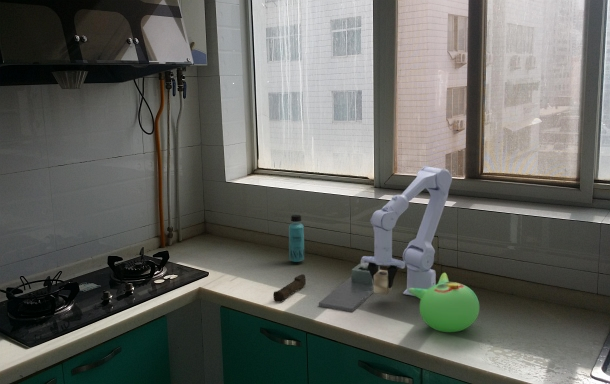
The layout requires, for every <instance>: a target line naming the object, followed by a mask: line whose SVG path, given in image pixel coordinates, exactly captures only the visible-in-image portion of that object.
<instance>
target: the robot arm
mask: <svg viewBox="0 0 610 384" xmlns="http://www.w3.org/2000/svg"><path fill="white" fill-rule="evenodd" d="M452 181H453V177H452V174H451V171H449V169H447V168H440V167H439V168H438V167H432V166H429V165H424V166H423V167H421V169H420V170H419V171H418V172H417V173H416V178H414V180H413V181H412V182H411V183H410V184H409V185H408V187H406V189H405V190H404V191H402V193H401V194H396V195H393V196H392V197H391V199H390V200H389V201H388V202H387V203H386V204H385V205H383V207H382V208H381V209H377V210H375V211H374V212H373V213H372V215H371V218H370V219H369V220H370V221H369V222H370V224H371V225H372V227H373V232H374V236H373V237H374V239H373V241H374V244H373V245H374V246H373V247H374V256H371V255H370V256H368V255H367V256H366V255H363V256H362V257H361V259H362V263H369V264H368V266H367V268H368V270H369V272H370V274H371V276H372V279H373V282H374V275H375V274H376V273H377V272H378V269H379V266H385V267H386V266H387V267H388V268H387V270H386V271H388V287H389V288H391V287H392V288H393V285H394V279H395V277H396V275H397V272H398V271H399V269H405V268H406V269H407V270H406V271H407V272H406V275H407V277H406V289H405V290H404V291H403V292H402V293H403V295H406V296H407V295H408V296H412V297H416V296H415V295H413V294H412V293H410V292H409V291H408V289H409V288H421V289H429V288H430V287H432V286H434V285H436V284H437V283H436V279H437V278H436V277H437V275H436V270H435V269H431V268H432V266H433V265H434V262H435V261H434V260H435V257H434V256H435V253H436V249H435V248H434V247H433V244H432V242H433V239H434V237H435V235H436V234H435V233H436V232H437V228H438V225H439V222H440V220H441V217H442V214H443V211H444V208H445V206H446V203H447V200H448V197H449V190H450V188H451V185H452ZM425 189H426V190H427V191H428V193H429V196H430V197H429V199H428V202H427V205H426V208H425V211H424V214H423V216H422V217H423V218H422V220H421V223H420V225H419V229H418V231H417V234H416V238H414V239H412V240H411V241H409V242H408V245H407V247H406V248H405V249H404V251H403V253H402V260H400V259H396V258H393V228H395V226H396V224H397V221H398V219H399V218H400V216H401V215H402V214H403V213H404V212H405V211H406V210H408V208H409V205H410V204H409V203H410V201H412V200H413V199H414V198H415V197H417V196H418V195H419V194H421V192H422V191H424V190H425Z"/></svg>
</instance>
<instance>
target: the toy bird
mask: <svg viewBox="0 0 610 384" xmlns="http://www.w3.org/2000/svg"><path fill="white" fill-rule="evenodd" d="M408 291H409V292H410V293H412V294H413V295H415V296H414V297H416V298H418V299H420V300H419V313H420V316H421V318H422V320H423V321H424V322H425V323H426V325H427V326H429V327H430V328H432V329H434V330H436V331H439V332H442V333H455V332H457V333H458V332H461V331H463V330H466V329H467V328H469V327H470V326H471V325H473V324H474V322H475V321H476V319H477V318H478V316H479V313H480V302H479V299H478V296H477V295H476V293H475V292H474V290H472V289H471V288H470V287H468V286H467V285H465V284H462V283H459V282H454V281H449V278H448V275H447V273H446V272H443V273H441V275H440V277H439V279H438V282H437V283H436V284H435V285H434V286H432V287H430V288H429V289H421V288H409V289H408Z"/></svg>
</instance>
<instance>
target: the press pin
mask: <svg viewBox="0 0 610 384" xmlns="http://www.w3.org/2000/svg"><path fill="white" fill-rule="evenodd" d="M360 264H361V270H367V271H369V270H368V268H367V266H368V264H369V263H362V258H361V259H360Z"/></svg>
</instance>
